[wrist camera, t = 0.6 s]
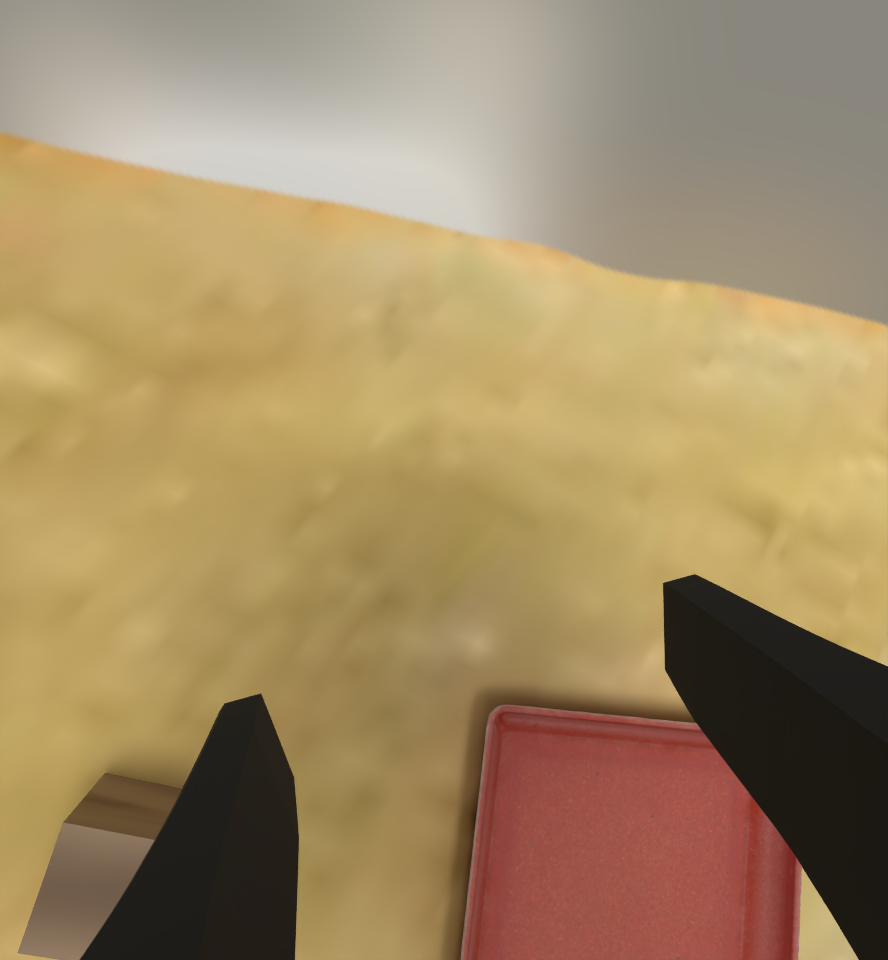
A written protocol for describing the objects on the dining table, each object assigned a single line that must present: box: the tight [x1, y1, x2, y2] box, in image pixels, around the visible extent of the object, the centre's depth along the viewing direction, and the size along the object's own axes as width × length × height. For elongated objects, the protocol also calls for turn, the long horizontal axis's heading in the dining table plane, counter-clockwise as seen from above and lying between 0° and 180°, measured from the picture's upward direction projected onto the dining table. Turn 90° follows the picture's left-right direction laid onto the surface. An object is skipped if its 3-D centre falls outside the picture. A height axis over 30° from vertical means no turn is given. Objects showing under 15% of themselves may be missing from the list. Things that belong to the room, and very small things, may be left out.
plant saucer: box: [460, 704, 802, 960], centre depth 34 cm, size 18×18×3 cm
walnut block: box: [18, 773, 182, 960], centre depth 28 cm, size 4×4×6 cm
